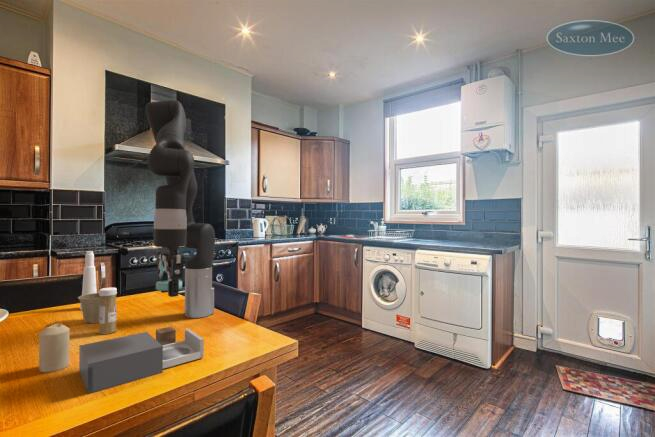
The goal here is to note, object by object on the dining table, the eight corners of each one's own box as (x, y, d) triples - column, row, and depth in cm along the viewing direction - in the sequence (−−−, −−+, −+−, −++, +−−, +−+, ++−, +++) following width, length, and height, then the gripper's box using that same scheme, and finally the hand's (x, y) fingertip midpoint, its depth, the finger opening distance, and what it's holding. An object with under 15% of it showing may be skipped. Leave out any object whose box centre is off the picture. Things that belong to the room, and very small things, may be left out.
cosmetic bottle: (91, 310, 126) (91, 252, 126) (75, 310, 126) (76, 252, 126) (102, 306, 132) (102, 250, 132) (87, 306, 132) (87, 250, 132)
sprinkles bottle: (116, 332, 102) (117, 289, 102) (98, 335, 100) (98, 290, 100) (116, 328, 106) (116, 286, 106) (99, 331, 104) (99, 287, 104)
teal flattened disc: (177, 285, 88) (177, 279, 88) (185, 288, 84) (185, 282, 84) (152, 288, 85) (153, 281, 85) (159, 291, 80) (159, 285, 80)
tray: (187, 345, 92) (187, 328, 92) (203, 357, 84) (203, 339, 84) (136, 358, 83) (136, 339, 83) (148, 372, 76) (148, 352, 76)
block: (170, 340, 96) (170, 326, 96) (175, 344, 93) (175, 330, 93) (155, 343, 94) (155, 329, 94) (160, 348, 91) (160, 333, 91)
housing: (146, 355, 86) (146, 331, 86) (162, 372, 77) (162, 346, 77) (79, 371, 77) (79, 345, 77) (88, 393, 67) (88, 364, 67)
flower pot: (71, 323, 111) (71, 297, 111) (99, 315, 120) (99, 291, 120) (89, 326, 108) (90, 300, 108) (117, 318, 117) (118, 293, 117)
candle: (50, 362, 81) (50, 321, 81) (74, 362, 82) (74, 321, 82) (32, 373, 76) (32, 329, 76) (58, 372, 76) (58, 328, 76)
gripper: (195, 227, 82) (194, 297, 81) (176, 227, 92) (175, 288, 92) (162, 227, 77) (161, 301, 76) (146, 226, 87) (145, 291, 87)
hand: (169, 293), depth 84 cm, fingers closed on teal flattened disc, 6 cm apart
